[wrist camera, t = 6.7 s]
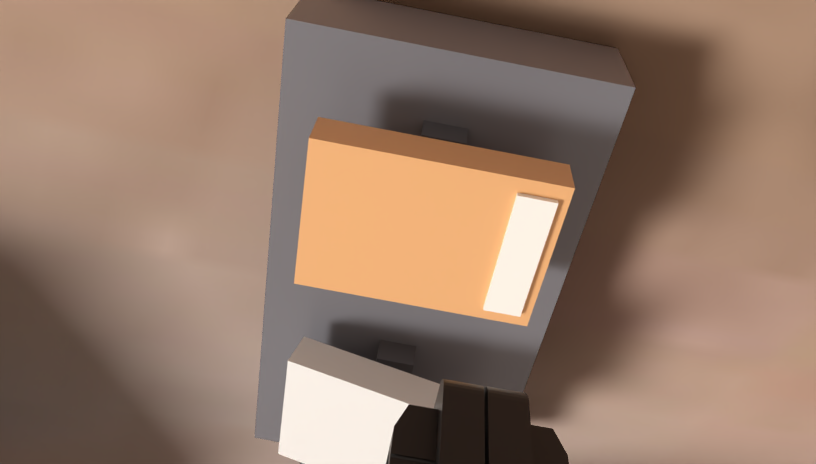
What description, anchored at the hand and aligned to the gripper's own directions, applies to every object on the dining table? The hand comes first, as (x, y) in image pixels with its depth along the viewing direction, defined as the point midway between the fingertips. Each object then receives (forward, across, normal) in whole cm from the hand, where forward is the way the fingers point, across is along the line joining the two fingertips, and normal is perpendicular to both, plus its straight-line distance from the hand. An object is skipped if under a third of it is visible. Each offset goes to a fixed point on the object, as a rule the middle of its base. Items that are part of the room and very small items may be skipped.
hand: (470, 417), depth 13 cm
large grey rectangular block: (+12, +1, +5) cm, 13 cm away
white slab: (+7, +1, +9) cm, 11 cm away
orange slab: (+7, +1, +1) cm, 7 cm away
